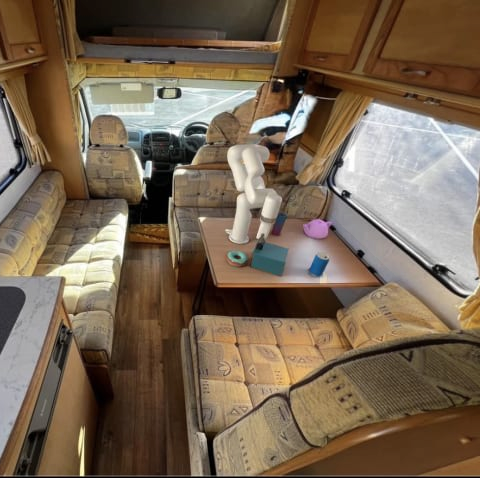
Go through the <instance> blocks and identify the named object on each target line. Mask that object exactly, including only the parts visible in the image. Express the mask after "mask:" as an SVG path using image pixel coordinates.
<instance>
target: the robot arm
mask: <svg viewBox="0 0 480 478" xmlns="http://www.w3.org/2000/svg"><path fill="white" fill-rule="evenodd" d="M226 154H227V155H226V156H227V157H226V158H227V163H228V165H229V168H230V169H231V171H232V175H233V181H234V184H235V188H236V190H237V191H238V192H239V193H240V192H241V193H240V194H239V195H237V198H236V210H235V216H234V221H233V226H232V229H229V228H225V231H224V232H225V233H226V234H227V235H228V239H229V241H230V242H232V243H234V244H237V245H245V244H247V243H248V242H249V240H250V237H249V236H248V233H249V231H250V226H251V222H252V218H253V214H252V212H251V210H252V209H253V210H254V209H260V208H262V210H261V213H260V218H259V222H260V223H259V228H258V230H257V234H256V239H258V240H257V241H258V243H257V242H256V244H257V246H256V245H255V246H256V249H258V250H262V248H263V245H264V243H265V242H266V240H267V238H268V236H269V234H270V232H271V229H272V227H273V226H272V225H274V223H275V221H276V218H277V215H278V212H279V211H280V209H281V206H282V202H283V197H281V196H280V195H278V193H277V192H276V190H275V189H274V188H272V187H271V188H270V187H267V188H266V185H265V181H264V179H263V177H262V176H263V175H264V174H265V170H266V169H265V167H264V163H266V162H267V161H269V159H270V155H271V154H270V150H269V148H268V147H266V146H264V145H261V144H257V143H249V144H236V145H232V146H230V147H229V148H228V150H227V153H226ZM263 238H264V239H263ZM262 240H263V242H262Z"/></svg>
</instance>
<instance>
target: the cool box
mask: <svg viewBox="0 0 480 478" xmlns="http://www.w3.org/2000/svg"><path fill="white" fill-rule="evenodd" d="M285 264H286V262H285V263H282V262H278V261H275V260H272V259H269V258H265V257H262V256H259V255H255V254H253V257H252V260H251V264H250V268H254V269H256V270H260V271H263V272H266V273H269V274H272V275H275V276H279V277H281V276H282V273H283V270H284V267H285Z"/></svg>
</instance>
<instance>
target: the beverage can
mask: <svg viewBox="0 0 480 478" xmlns="http://www.w3.org/2000/svg"><path fill="white" fill-rule="evenodd" d="M329 262H330V256H329V255H328V254H327V253H324V252H318V253H317V254H315V255H314V258H313V260H312V262H311V264H310V267H309V269H308V272H309V273H310V275H312V276H314V277H321V276H323V274H324V272H325V270H326V269H327V267H328V264H329Z"/></svg>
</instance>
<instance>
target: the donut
mask: <svg viewBox="0 0 480 478" xmlns="http://www.w3.org/2000/svg"><path fill="white" fill-rule="evenodd" d="M226 262H228V263H229V264H230V265H231V266H234V267H238V268H240V267H244V266H246V265H247V264H248V262H249V258H248V255H247V254H246V253H244V252H243V251H240V250H230V251H229V252H228V253H226Z"/></svg>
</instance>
